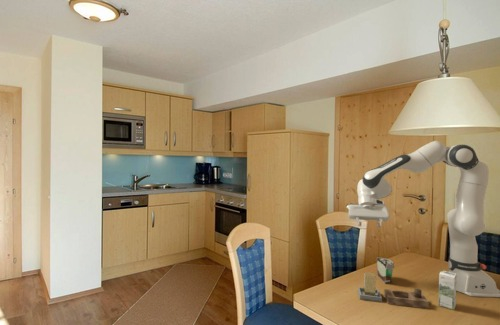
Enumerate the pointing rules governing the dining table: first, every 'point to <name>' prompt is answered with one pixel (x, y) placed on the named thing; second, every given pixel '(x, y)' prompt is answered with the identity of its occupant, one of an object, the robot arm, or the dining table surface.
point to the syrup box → (447, 289)
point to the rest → (370, 298)
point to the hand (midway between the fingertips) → (369, 226)
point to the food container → (384, 269)
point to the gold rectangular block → (369, 284)
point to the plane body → (406, 298)
